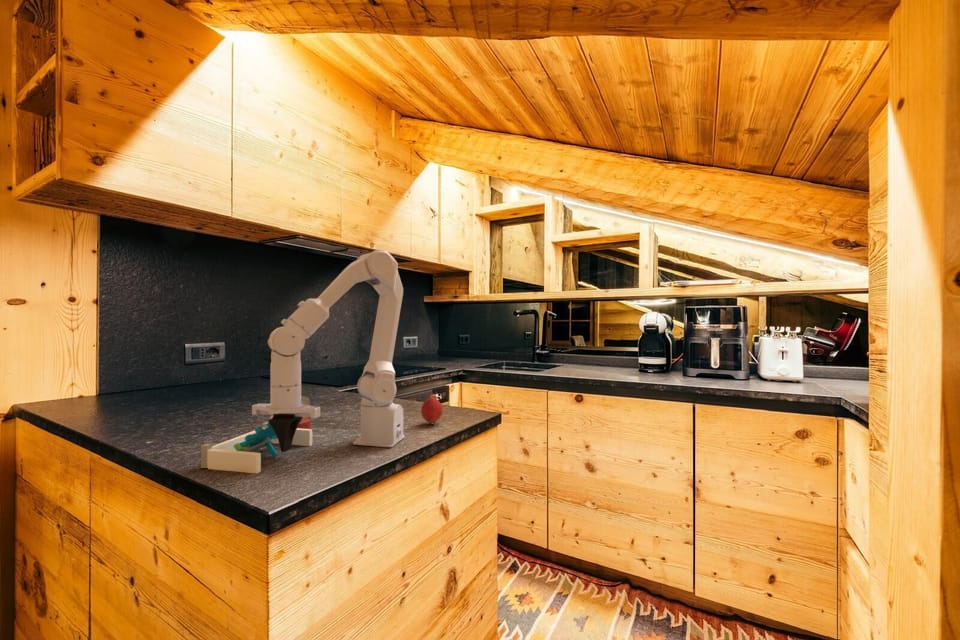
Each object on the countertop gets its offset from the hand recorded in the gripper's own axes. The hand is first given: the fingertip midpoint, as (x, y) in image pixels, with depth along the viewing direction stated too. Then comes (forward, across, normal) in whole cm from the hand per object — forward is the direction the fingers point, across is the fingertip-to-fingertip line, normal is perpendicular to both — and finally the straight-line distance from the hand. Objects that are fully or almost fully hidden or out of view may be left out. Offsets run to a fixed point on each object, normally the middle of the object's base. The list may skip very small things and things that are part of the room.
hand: (285, 450), depth 83 cm
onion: (+2, +21, +31) cm, 38 cm away
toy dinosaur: (+2, -6, 0) cm, 6 cm away
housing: (+1, -6, 0) cm, 6 cm away
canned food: (+2, -12, +17) cm, 21 cm away
